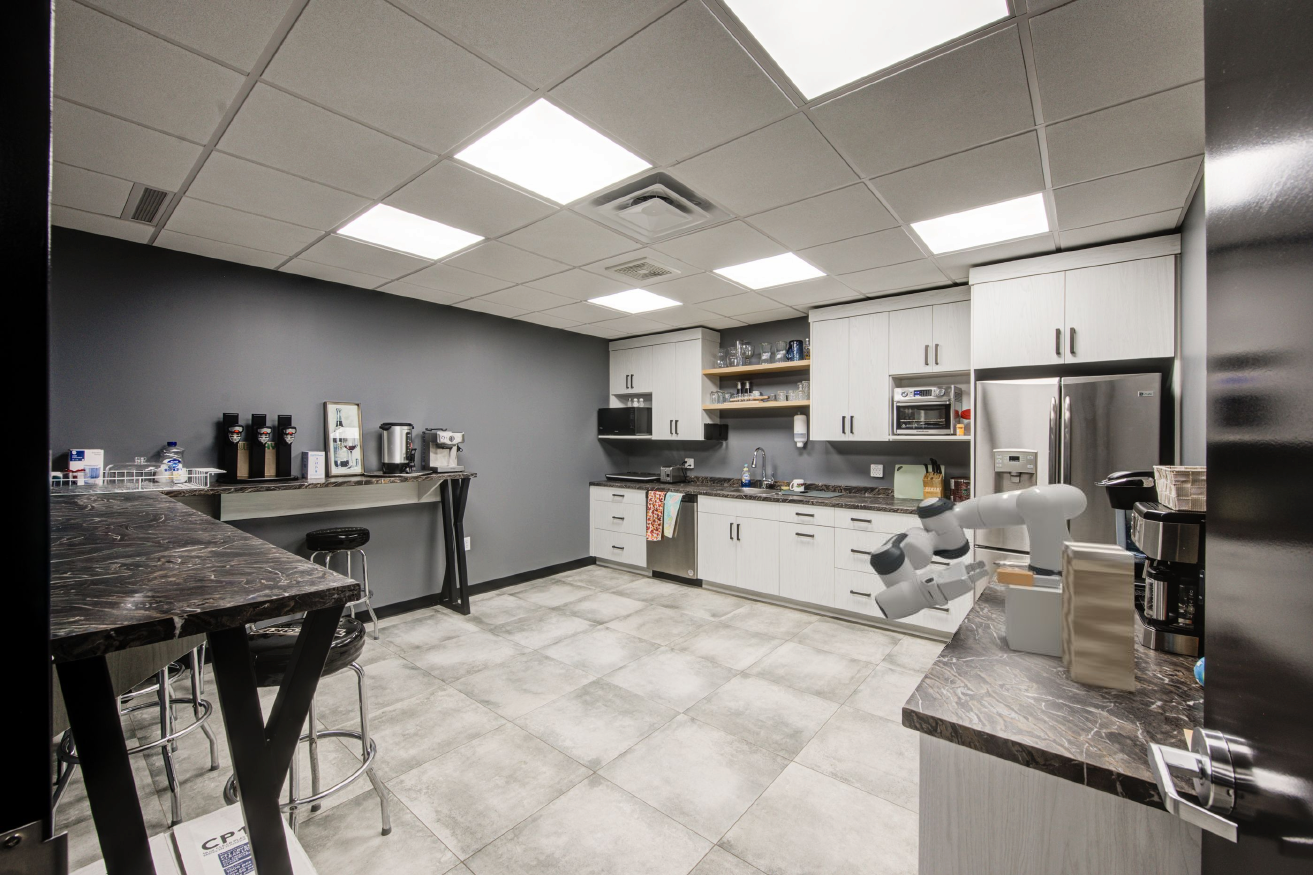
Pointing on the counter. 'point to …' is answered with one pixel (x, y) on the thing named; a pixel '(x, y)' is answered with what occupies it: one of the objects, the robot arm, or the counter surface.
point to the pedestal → (1034, 618)
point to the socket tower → (1098, 614)
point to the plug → (1025, 578)
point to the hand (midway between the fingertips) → (986, 566)
